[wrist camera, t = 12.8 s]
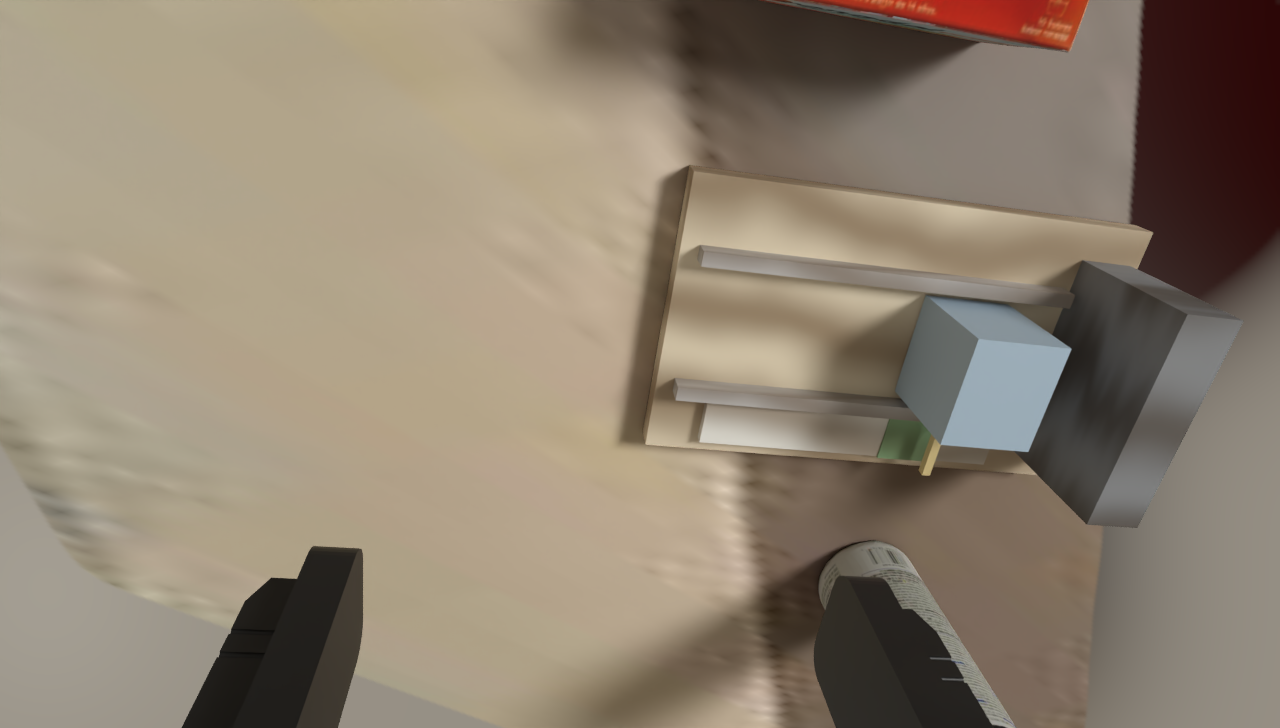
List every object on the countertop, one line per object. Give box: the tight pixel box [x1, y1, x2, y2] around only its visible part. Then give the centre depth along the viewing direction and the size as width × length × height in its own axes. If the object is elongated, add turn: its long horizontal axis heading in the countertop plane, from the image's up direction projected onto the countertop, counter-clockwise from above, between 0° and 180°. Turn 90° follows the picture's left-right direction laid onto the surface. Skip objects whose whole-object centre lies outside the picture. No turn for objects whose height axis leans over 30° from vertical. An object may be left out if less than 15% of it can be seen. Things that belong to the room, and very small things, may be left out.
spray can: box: [819, 540, 1016, 728], centre depth 45 cm, size 7×7×20 cm
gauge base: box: [643, 165, 1243, 528], centre depth 41 cm, size 16×26×10 cm, turn 82°
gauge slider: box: [895, 295, 1071, 476], centre depth 43 cm, size 10×6×6 cm, turn 172°
